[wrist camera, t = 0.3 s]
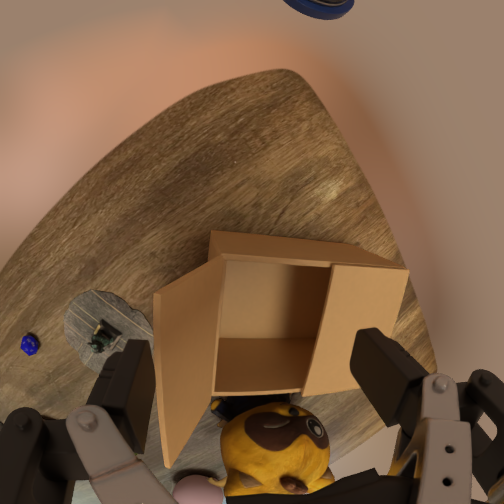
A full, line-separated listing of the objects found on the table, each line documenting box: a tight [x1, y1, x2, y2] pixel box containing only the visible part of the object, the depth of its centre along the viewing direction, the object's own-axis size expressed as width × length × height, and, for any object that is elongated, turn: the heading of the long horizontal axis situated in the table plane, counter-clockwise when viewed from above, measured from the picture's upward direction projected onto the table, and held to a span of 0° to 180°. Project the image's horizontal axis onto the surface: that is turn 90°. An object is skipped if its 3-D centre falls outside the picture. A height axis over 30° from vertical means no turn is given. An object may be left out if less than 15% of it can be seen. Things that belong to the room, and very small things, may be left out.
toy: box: [173, 475, 223, 504], centre depth 36 cm, size 9×9×10 cm
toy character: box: [206, 393, 335, 498], centre depth 28 cm, size 17×15×18 cm
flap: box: [153, 256, 224, 469], centre depth 17 cm, size 8×13×1 cm
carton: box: [208, 230, 410, 397], centre depth 28 cm, size 17×13×11 cm
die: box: [21, 335, 38, 356], centre depth 27 cm, size 3×3×3 cm
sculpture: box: [63, 290, 154, 374], centre depth 30 cm, size 12×9×8 cm
